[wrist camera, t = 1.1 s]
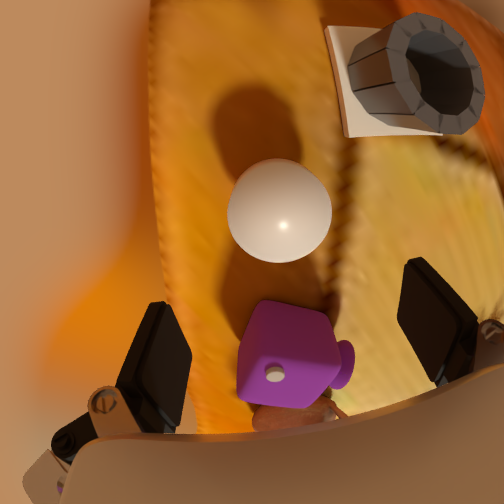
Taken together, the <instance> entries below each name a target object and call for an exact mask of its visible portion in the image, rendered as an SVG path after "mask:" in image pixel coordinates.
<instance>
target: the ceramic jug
mask: <svg viewBox="0 0 504 504" xmlns="http://www.w3.org/2000/svg"><path fill="white" fill-rule="evenodd" d="M336 415H337V416H338V417H339V419H341V418H345V417H348V416H347V415H346V414H345V413H344V412H343V411H341V410H340V409H339V408H338V407H337V406H336V403H335V402H334V401H332V400H330V399H329V398H327V397H325V396H322V395H320V396H319V397H318V398H317V399H316V400H315V401H314V402H313V403H312V404H311V405H310V406H308V407H306V408H287V407H278V406H270V405H261V406H260V407H259V408H258V409H257V410H256V411H255V413H254V415H253V418H252V425H253V428H254V430H255V432H259V431H269V430H278V429H286V428H293V427H299V426H305V425H311V424H317V423H322V422H327V421H332V420H335V418H336Z"/></svg>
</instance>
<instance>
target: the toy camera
mask: <svg viewBox="0 0 504 504" xmlns="http://www.w3.org/2000/svg"><path fill="white" fill-rule="evenodd" d="M354 363H355V352H354V348H353V346H352V344H351V343H350V342H349V341H347V340H341V341H339V342H337V341H336V338H335V335H334V332H333V329H332V326H331V323H330V321H329V319H328V317H327V316H326V315H325V314H324V313H322V312H319V311H315V310H311V309H306V308H302V307H298V306H293V305H289V304H285V303H281V302H276V301H271V300H262V301H260V302H259V303H258V304H257V306H256V307H255V309H254V311H253V313H252V316H251V318H250V320H249V323H248V325H247V328H246V330H245V333H244V335H243V337H242V340H241V342H240V346H239V351H238V366H237V395H238V397H239V398H240V399H241V400H243V401H246V402H250V403H256V404H262V405H270V406H278V407H287V408H306V407H308V406H310V405H311V404H312V403H313V402H314V401H315V400H316V399H317V398H318V397H319V396H320V395H321V394H322V393H323V392H324V390H325V389H326V388H327V387H328V386H330V387H331V388H333V389H341V388H343V387H344V386H345V385H346V384H347V383H348V381H349V380H350V378H351V375H352V372H353V369H354Z"/></svg>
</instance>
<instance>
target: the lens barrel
mask: <svg viewBox="0 0 504 504" xmlns="http://www.w3.org/2000/svg"><path fill="white" fill-rule="evenodd" d="M324 32H325V36H326V40H327V44H328V49H329V53H330V57H331V62H332V67H333V71H334V76H335V82H336V87H337V93H338V98H339V104H340V111H341V117H342V124H343V131H344V137H349V138H350V137H365V136H385V135H443V134H459V135H462V134H464V133H465V132H466V131H467V130H468V129H470V128H471V127H472V126H473V125H474V124H475V123H477V122H478V120H479V118H480V115H481V111H482V107H483V103H484V99H485V96H484V95H485V90H484V83H483V77H482V72H481V68H480V67H479V66H480V65H479V63H478V61H477V59H476V57H475V55H474V54H473V52H472V50H471V48H470V47H469V45H468V43H467V42H466V40H464V38H463V37H462V36H461V35H460V34H459V33H458V32H457V31H455V30H454V29H453V28H452V27H451V26H450V25H448V24H447V23H446V22H445V21H443V20H441V19H440V18H437V17H433V16H430V15H426V14H422V13H418V12H416V13H412V14H410V15H408V16H406V17H404V18H401V19H399V20H397V21H395V22H393V23H392V24H390V25H388V26H386V27H385V28H383V29H378V28H367V27H353V26H327V27H326V29H325V30H324Z"/></svg>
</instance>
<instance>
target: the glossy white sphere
mask: <svg viewBox="0 0 504 504" xmlns="http://www.w3.org/2000/svg"><path fill="white" fill-rule="evenodd" d="M227 213H228V224H229V228H230V231H231V233H232V235H233V237H234V239H235V241H236V242H237V243H238V244H239V246H240V247H241V248H242V249H243V250H244V251H246V252H247V253H248V254H250V255H252V256H253V257H255V258H258V259H260V260H263V261H267V262H274V263H282V262H290V261H294V260H297V259H300V258H302V257H304V256H306V255H307V254H309V253H310V252H312V251H313V250H314V249H315V248H316V247H317V246H318V245H319V244H320V243H321V242H322V240H323V239H324V237H325V236H326V234H327V232H328V229H329V227H330V223H331V217H332V208H331V202H330V198H329V195H328V193H327V191H326V189H325V187H324V186H323V184H322V183H321V182H320V181H319V180H318V179H317V178H316V177H315V176H314V175H313V174H312V173H311V172H310V171H309V170H308V169H307V168H305V167H304V166H302V165H301V164H299V163H297V162H295V161H292V160H288V159H282V158H273V159H267V160H263V161H260V162H258V163H256V164H254V165H252V166H251V167H249V168H248V169H247V170H245V171H244V172H243V173H242V175H241V176H240V177H239V178H238V180H237V182H236V183H235V186H234V188H233V191H232V194H231V198H230V201H229V205H228V212H227Z"/></svg>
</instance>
